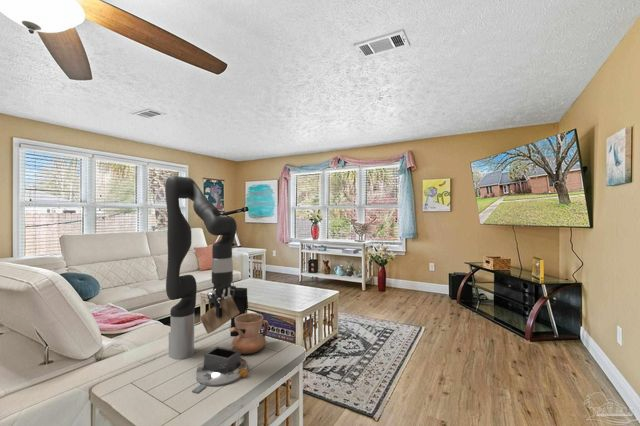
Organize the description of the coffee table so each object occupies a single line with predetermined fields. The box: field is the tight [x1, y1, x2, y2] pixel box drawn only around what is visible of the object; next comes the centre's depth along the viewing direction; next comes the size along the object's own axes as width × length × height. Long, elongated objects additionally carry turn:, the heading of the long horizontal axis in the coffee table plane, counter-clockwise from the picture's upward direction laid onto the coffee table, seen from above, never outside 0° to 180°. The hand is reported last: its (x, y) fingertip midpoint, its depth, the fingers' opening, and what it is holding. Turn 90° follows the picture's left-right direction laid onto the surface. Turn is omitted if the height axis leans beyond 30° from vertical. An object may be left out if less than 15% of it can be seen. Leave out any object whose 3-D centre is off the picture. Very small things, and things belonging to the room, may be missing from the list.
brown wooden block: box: [199, 296, 240, 335], centre depth 112 cm, size 7×3×15 cm
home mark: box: [191, 383, 207, 394], centre depth 101 cm, size 2×4×1 cm, turn 158°
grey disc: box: [195, 346, 248, 387], centre depth 111 cm, size 19×18×7 cm
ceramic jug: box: [229, 312, 269, 355], centre depth 131 cm, size 18×14×14 cm
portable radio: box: [229, 283, 249, 338], centre depth 147 cm, size 8×6×25 cm
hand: (222, 315), depth 112 cm, fingers closed on brown wooden block, 3 cm apart
